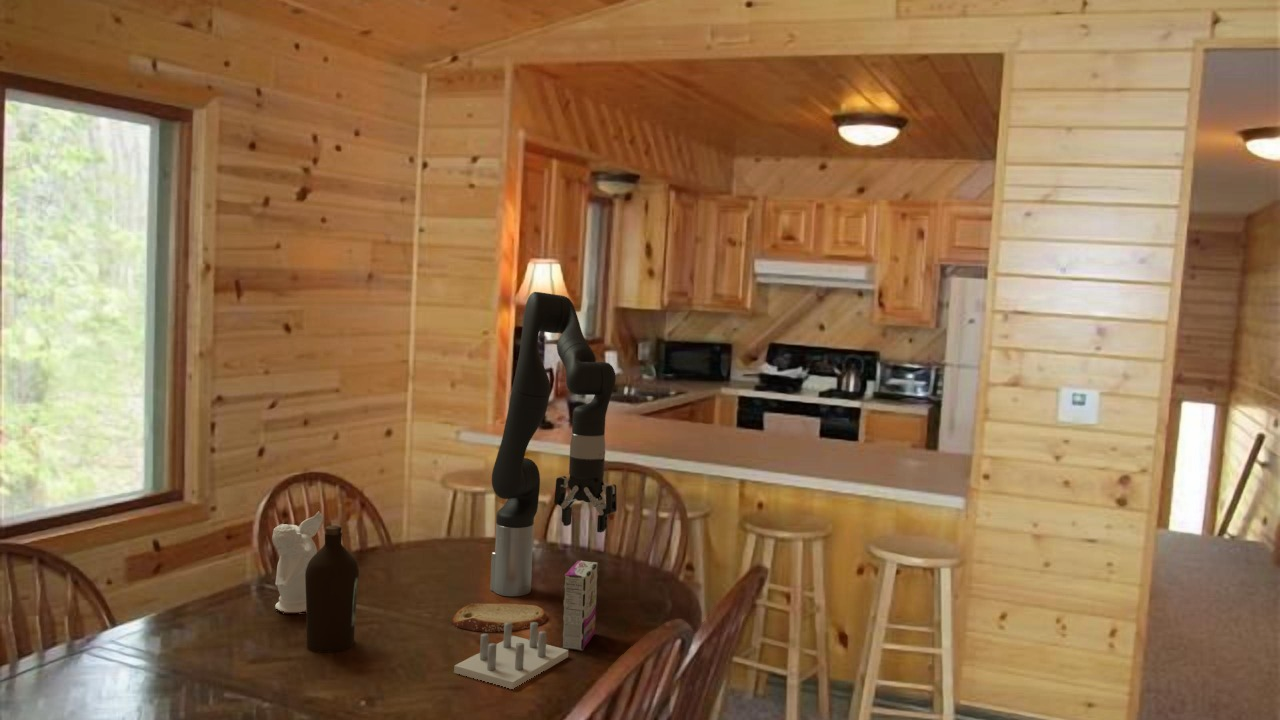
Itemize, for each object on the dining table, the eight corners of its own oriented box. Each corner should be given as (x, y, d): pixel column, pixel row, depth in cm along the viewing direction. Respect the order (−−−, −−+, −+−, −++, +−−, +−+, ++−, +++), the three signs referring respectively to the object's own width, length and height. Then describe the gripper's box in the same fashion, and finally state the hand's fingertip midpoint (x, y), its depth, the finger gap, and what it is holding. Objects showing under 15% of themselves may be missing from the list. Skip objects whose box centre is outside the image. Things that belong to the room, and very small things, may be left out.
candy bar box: (574, 631, 223) (577, 559, 222) (595, 633, 222) (599, 562, 221) (560, 648, 212) (563, 573, 211) (582, 651, 211) (586, 576, 210)
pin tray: (454, 672, 197) (455, 641, 196) (512, 642, 214) (514, 613, 214) (512, 689, 190) (513, 656, 190) (568, 657, 208) (569, 626, 207)
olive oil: (307, 656, 201) (310, 535, 199) (300, 638, 211) (303, 522, 208) (361, 650, 206) (364, 531, 204) (352, 632, 215) (355, 519, 213)
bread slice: (553, 618, 232) (554, 603, 231) (511, 642, 215) (512, 626, 215) (488, 604, 239) (489, 589, 239) (443, 626, 223) (444, 610, 223)
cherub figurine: (278, 619, 221) (278, 522, 219) (257, 603, 231) (257, 510, 228) (330, 608, 229) (331, 514, 227) (308, 593, 239) (309, 503, 236)
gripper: (549, 452, 214) (546, 526, 215) (607, 461, 207) (603, 537, 209) (568, 448, 220) (565, 520, 222) (624, 456, 214) (621, 530, 215)
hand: (584, 528), depth 215 cm, fingers open, 8 cm apart
